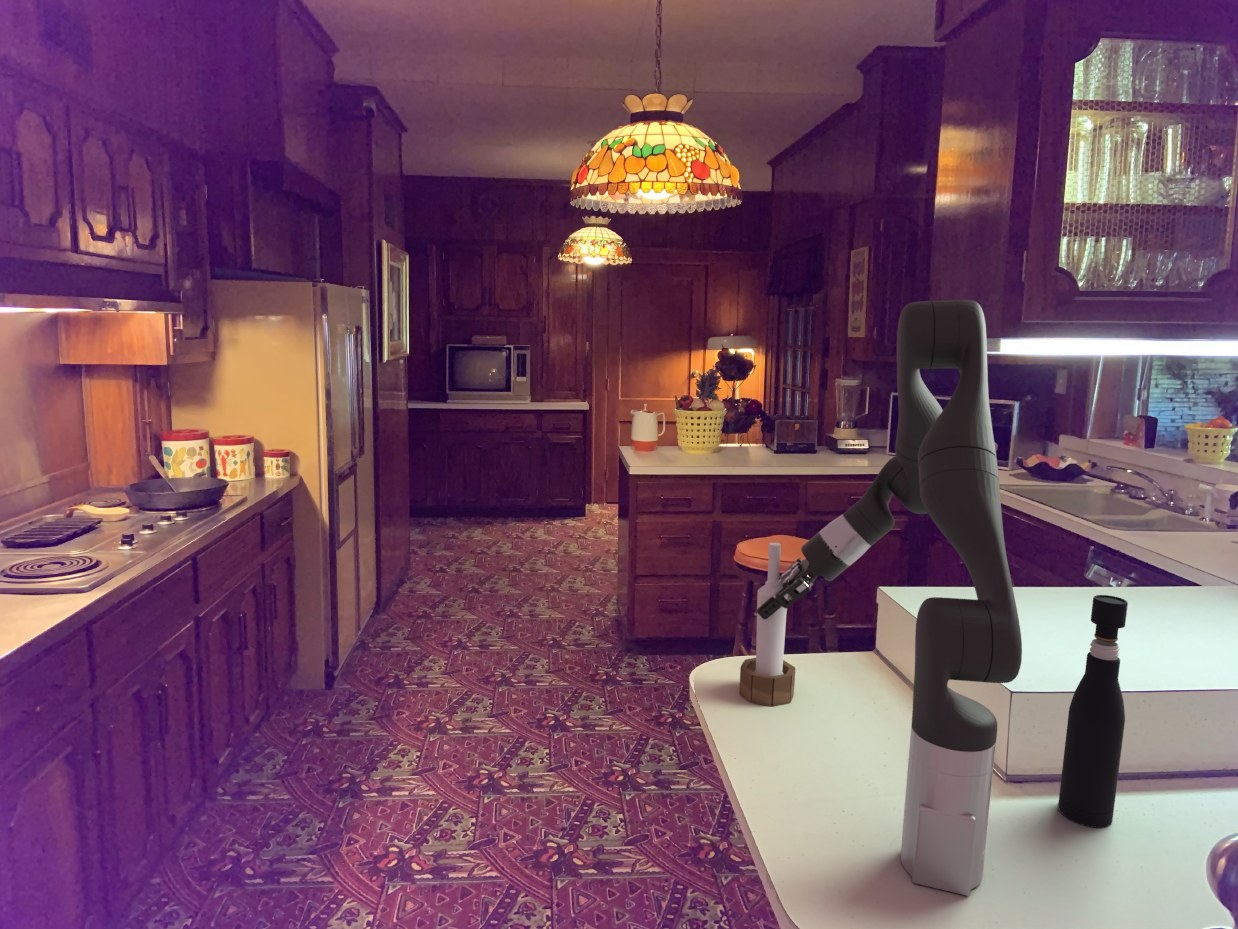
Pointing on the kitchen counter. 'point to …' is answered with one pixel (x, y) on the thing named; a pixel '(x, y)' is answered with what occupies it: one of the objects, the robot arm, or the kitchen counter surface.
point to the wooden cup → (766, 685)
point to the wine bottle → (1095, 724)
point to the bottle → (771, 621)
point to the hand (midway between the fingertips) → (761, 609)
